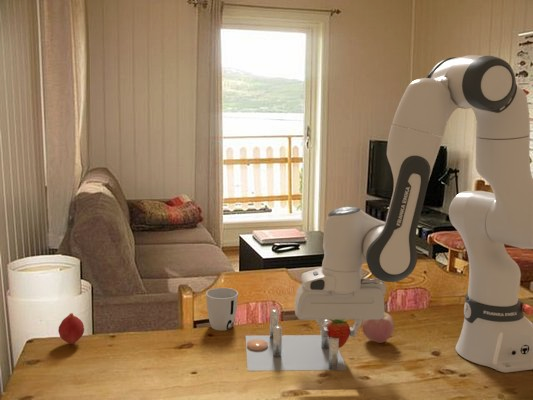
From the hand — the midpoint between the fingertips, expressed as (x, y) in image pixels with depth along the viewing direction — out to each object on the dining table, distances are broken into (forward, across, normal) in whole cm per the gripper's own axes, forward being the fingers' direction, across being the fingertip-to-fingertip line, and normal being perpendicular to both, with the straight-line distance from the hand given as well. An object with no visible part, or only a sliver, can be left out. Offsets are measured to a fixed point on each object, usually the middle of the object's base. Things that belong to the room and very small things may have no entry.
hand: (338, 336), depth 127 cm
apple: (+6, -12, -10) cm, 17 cm away
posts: (+5, +8, -3) cm, 10 cm away
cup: (+6, +27, -18) cm, 33 cm away
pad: (+5, +18, -6) cm, 20 cm away
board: (+6, +10, -3) cm, 12 cm away
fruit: (+3, 0, 0) cm, 3 cm away
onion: (+7, +63, -10) cm, 64 cm away
